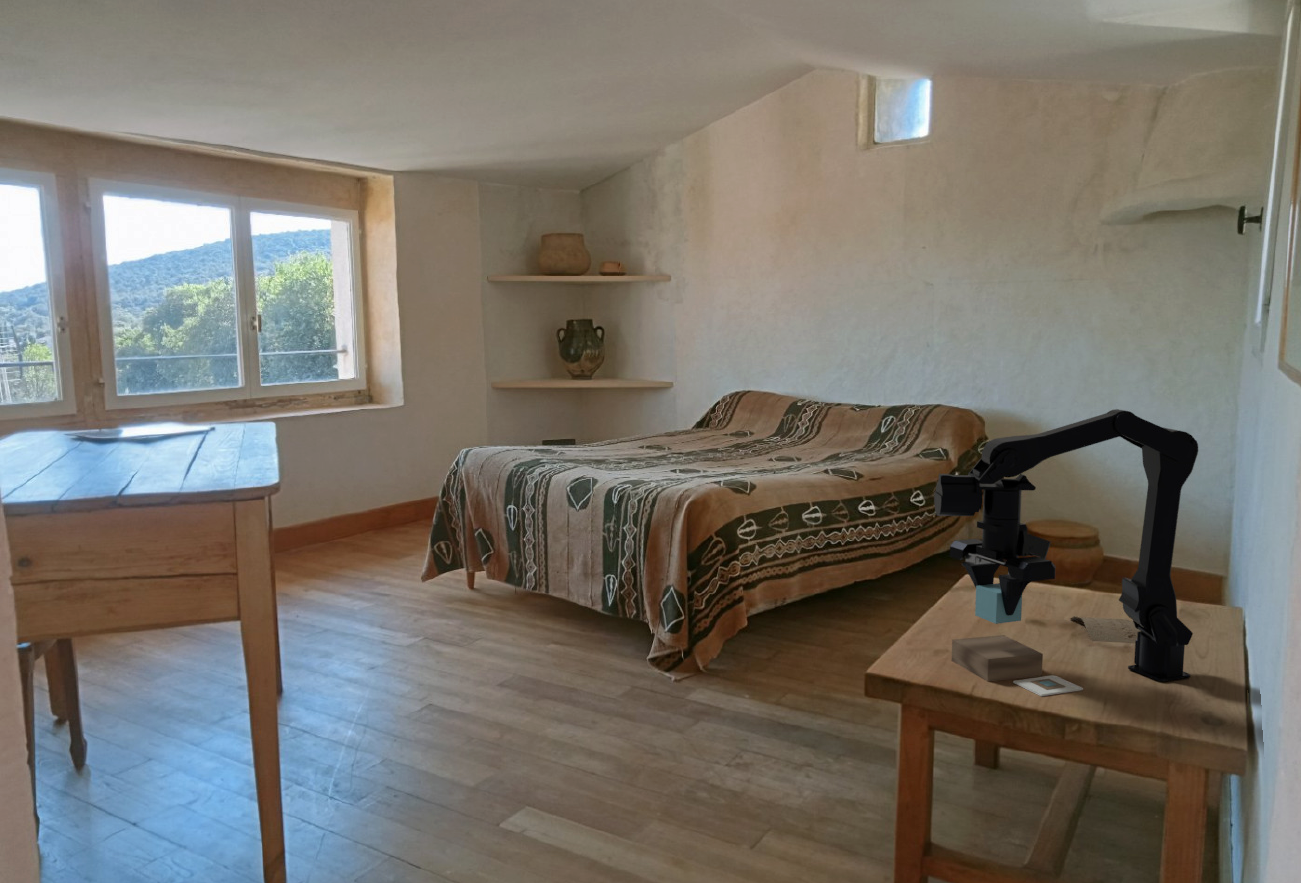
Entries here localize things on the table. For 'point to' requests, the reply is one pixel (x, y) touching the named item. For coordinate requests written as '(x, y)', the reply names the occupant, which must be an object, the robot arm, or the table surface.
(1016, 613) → the teal cube
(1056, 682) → the card
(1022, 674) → the walnut block
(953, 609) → the table surface
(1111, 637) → the clay tablet
